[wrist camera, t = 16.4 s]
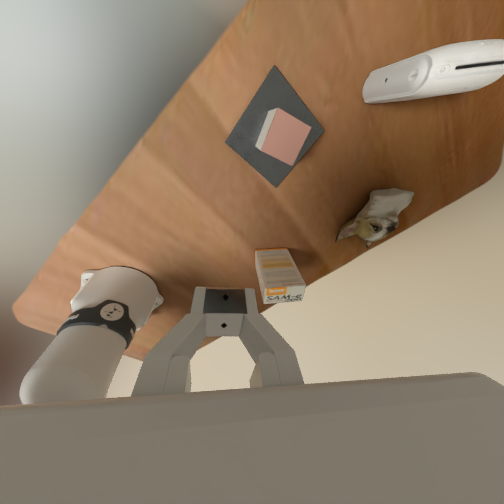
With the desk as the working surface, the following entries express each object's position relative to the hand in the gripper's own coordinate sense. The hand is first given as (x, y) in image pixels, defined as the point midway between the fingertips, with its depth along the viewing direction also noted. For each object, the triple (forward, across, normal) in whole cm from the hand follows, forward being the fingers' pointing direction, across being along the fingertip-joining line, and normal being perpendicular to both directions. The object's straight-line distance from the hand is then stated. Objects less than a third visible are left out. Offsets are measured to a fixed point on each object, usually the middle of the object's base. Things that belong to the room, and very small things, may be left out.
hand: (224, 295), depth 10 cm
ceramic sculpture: (+30, -32, +4) cm, 44 cm away
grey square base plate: (+29, -8, -7) cm, 31 cm away
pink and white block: (+29, -8, -7) cm, 30 cm away
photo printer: (+29, -25, -17) cm, 42 cm away
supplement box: (+29, -13, +18) cm, 37 cm away
